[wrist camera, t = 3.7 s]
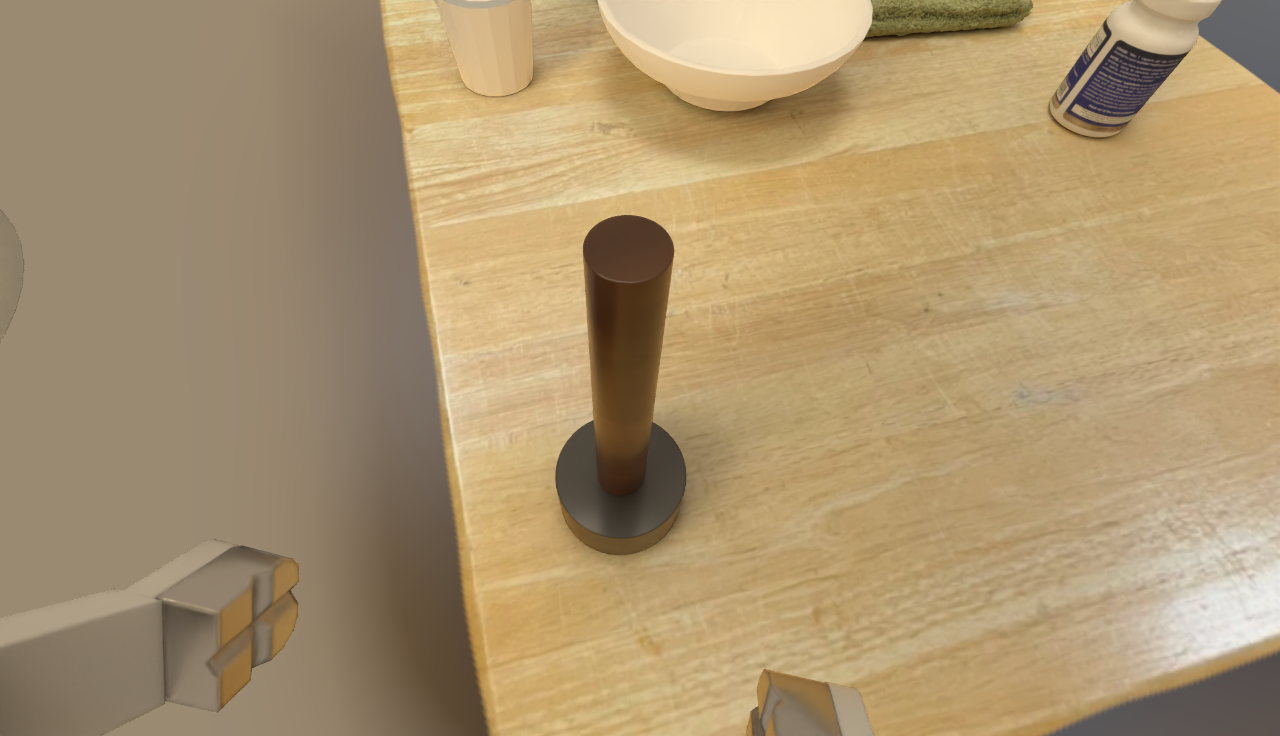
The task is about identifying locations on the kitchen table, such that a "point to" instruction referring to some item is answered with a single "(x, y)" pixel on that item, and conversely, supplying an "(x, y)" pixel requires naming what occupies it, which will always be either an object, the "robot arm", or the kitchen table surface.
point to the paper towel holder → (623, 396)
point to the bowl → (737, 45)
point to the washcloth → (944, 15)
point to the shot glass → (490, 43)
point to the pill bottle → (1127, 63)
